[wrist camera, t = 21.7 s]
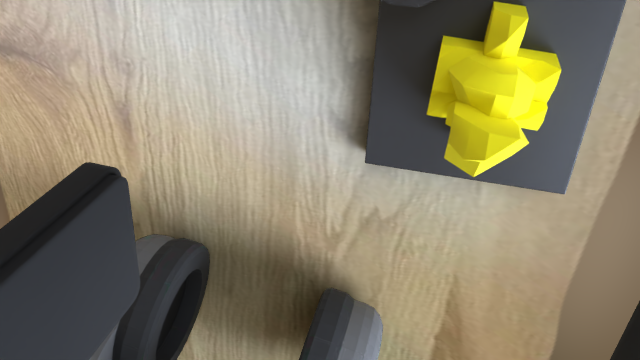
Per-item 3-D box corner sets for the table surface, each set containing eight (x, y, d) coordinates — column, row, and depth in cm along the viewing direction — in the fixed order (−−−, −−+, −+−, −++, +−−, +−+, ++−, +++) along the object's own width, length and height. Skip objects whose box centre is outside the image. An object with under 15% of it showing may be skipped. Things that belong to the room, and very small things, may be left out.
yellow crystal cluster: (569, 12, 28) (594, 62, 22) (524, 151, 32) (533, 228, 26) (451, -6, 29) (441, 38, 23) (423, 132, 33) (407, 201, 27)
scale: (370, -123, 29) (359, -120, 26) (651, -106, 26) (669, -101, 24) (349, 150, 37) (339, 172, 34) (562, 182, 34) (568, 209, 32)
